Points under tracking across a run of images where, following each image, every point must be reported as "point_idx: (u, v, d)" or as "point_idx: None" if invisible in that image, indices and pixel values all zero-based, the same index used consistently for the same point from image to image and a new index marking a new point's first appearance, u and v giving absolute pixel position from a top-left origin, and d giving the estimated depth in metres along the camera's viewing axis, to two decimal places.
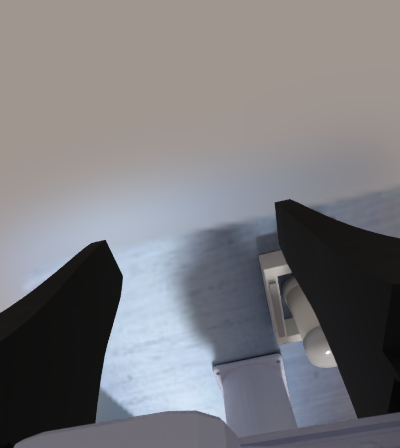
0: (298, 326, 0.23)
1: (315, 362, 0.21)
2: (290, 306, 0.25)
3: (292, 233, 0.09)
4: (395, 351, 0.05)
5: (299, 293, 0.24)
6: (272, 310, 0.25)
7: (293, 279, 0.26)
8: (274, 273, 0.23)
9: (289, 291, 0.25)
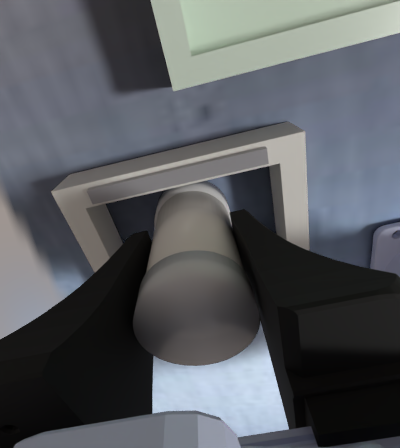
0: None
1: (231, 350, 0.09)
2: None
3: (240, 244, 0.10)
4: (294, 369, 0.05)
5: None
6: None
7: None
8: None
9: None
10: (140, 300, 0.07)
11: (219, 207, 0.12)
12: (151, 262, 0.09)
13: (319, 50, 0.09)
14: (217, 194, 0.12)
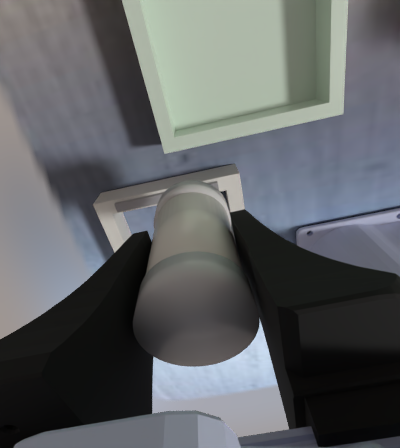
0: None
1: (230, 351, 0.09)
2: None
3: (240, 244, 0.10)
4: (294, 368, 0.05)
5: None
6: None
7: None
8: None
9: None
10: (140, 300, 0.07)
11: (219, 209, 0.12)
12: (151, 263, 0.09)
13: (240, 135, 0.16)
14: (217, 196, 0.13)
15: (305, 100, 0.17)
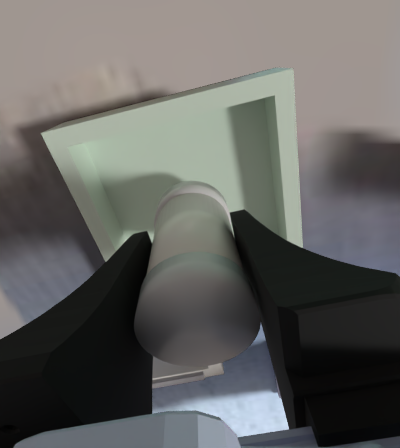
0: None
1: (230, 352, 0.09)
2: None
3: (240, 244, 0.10)
4: (294, 369, 0.05)
5: None
6: None
7: None
8: None
9: None
10: (143, 299, 0.07)
11: (221, 210, 0.12)
12: (153, 262, 0.09)
13: None
14: (218, 197, 0.13)
15: None
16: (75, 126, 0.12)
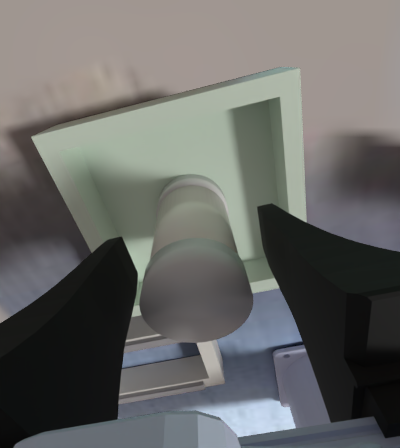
0: None
1: (226, 329, 0.09)
2: None
3: (272, 237, 0.09)
4: (355, 358, 0.05)
5: None
6: None
7: None
8: None
9: None
10: (147, 280, 0.08)
11: (218, 202, 0.12)
12: (156, 248, 0.10)
13: None
14: (216, 189, 0.13)
15: None
16: (67, 129, 0.11)
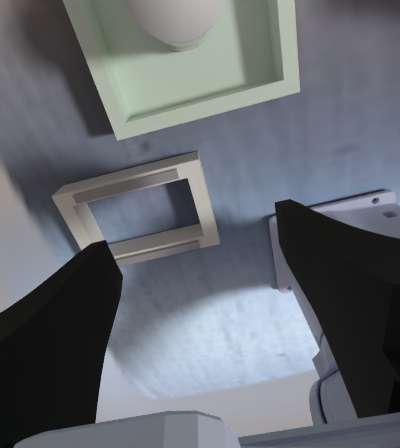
0: None
1: (205, 19, 0.09)
2: (177, 46, 0.14)
3: (292, 233, 0.09)
4: (395, 351, 0.05)
5: None
6: None
7: None
8: None
9: (164, 43, 0.14)
10: None
11: None
12: None
13: (194, 118, 0.16)
14: None
15: (263, 80, 0.17)
16: None
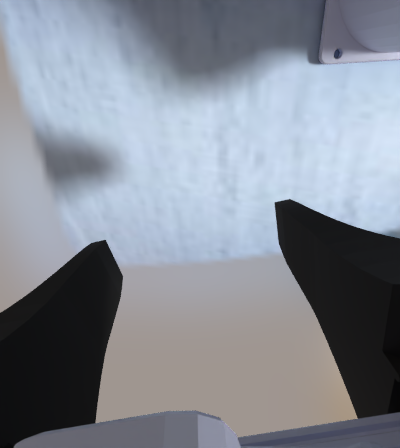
0: None
1: None
2: None
3: (292, 233, 0.09)
4: (395, 351, 0.05)
5: None
6: None
7: None
8: None
9: None
10: None
11: None
12: None
13: None
14: None
15: None
16: None
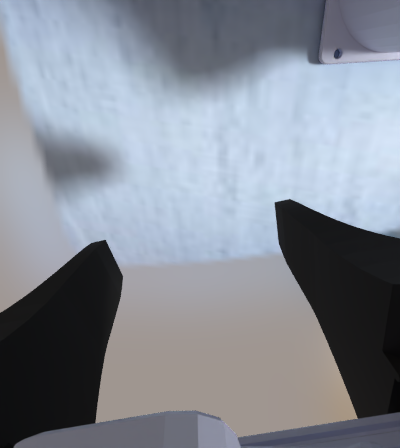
0: None
1: None
2: None
3: (292, 233, 0.09)
4: (395, 351, 0.05)
5: None
6: None
7: None
8: None
9: None
10: None
11: None
12: None
13: None
14: None
15: None
16: None
